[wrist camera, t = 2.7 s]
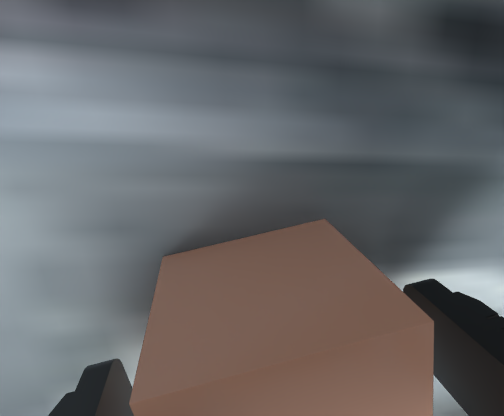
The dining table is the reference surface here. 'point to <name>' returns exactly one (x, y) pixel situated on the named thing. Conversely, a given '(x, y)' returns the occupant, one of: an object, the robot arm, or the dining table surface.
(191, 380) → the terracotta block
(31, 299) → the dining table surface
